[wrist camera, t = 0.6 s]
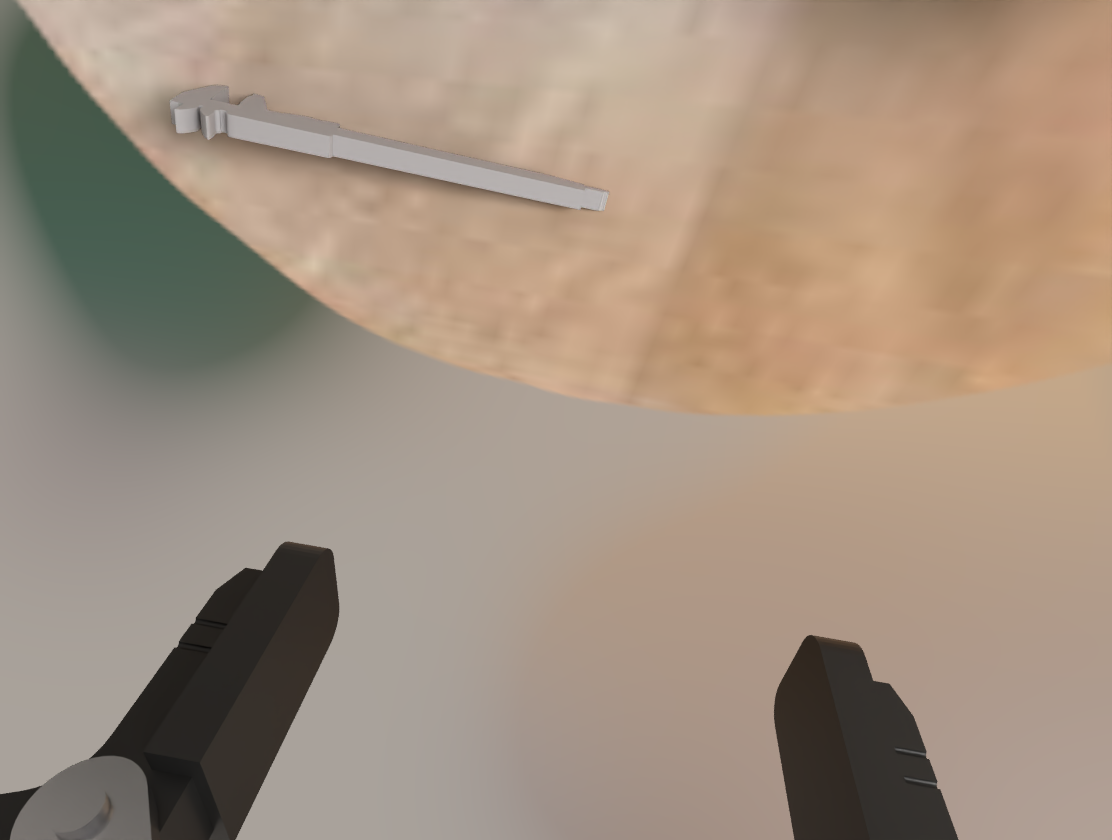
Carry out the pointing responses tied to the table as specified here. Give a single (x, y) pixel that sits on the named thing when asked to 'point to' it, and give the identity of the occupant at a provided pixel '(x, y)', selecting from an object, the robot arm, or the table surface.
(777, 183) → the table surface
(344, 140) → the caliper
